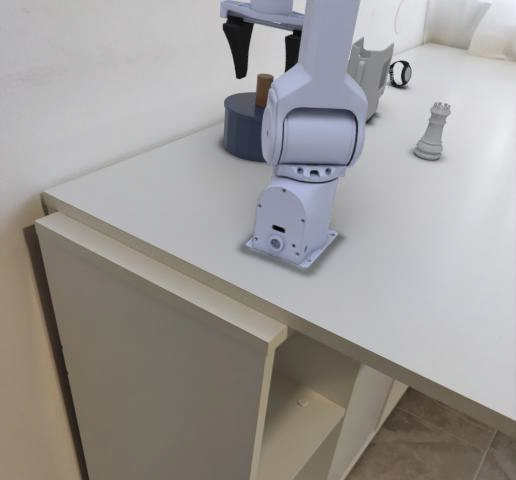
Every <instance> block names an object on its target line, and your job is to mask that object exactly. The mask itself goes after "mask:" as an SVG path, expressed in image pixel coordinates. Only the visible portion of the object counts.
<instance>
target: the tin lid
mask: <svg viewBox="0 0 516 480" xmlns="http://www.w3.org/2000/svg"><path fill="white" fill-rule="evenodd" d="M274 81H275V77H274V75H273V74H270V73H258V74H257V75H256V85H255V86H256V89H255V92H254V91H249V92H248V91H247V92H246V91H245V92H238V93H233V94H230V95H228V96H227V97H225V98H224V100H223V107H224V110H225V109H226V110H227V111H228V112H230V113H231V114H233V115H236V116H238V117H241V118H244V119H248V120H253V121H260V122H262V121H263V114H264V110H265V108H266V105H267V100H268V93H269V89H270V88H271V84H272V82H274Z"/></svg>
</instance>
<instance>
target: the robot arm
mask: <svg viewBox="0 0 516 480" xmlns="http://www.w3.org/2000/svg"><path fill="white" fill-rule="evenodd" d="M360 4H361V0H306V1H305V7H304V13H301V12H298V11H296V10H293V8H294V0H250V1H249V2H245V1H237V0H221V1H220V8H219V10H220V11H219V17H220V18H222V19H226V21H225V22H223V23H222V31H223V33H224V35H225V38H226V40H227V43H228V45H229V49H230V52H231V57H232V60H233V66H234V72H235V79H237V80H242V79H244V78H246V77H247V75H248V68H249V56H250V55H249V53H250V45H251V40H252V35H253V31H254V28H255V27H254V26H255V25H261V26H265V27H268V28H273V29H279V30H282V31H288V32H292V33H290V34H287V35H285V37H284V47H285V48H284V49H285V52H284V53H285V60H284V61H285V63H284V73H282V74H281V75H279V76H278V77H277V78H276V79H274V81H273V82H272V84H271V88H270V89H269V93H268V100H267V105H266V108H265V110H264V114H263V121H262V135H261V140H262V153H263V157H264V159H265V160H266V161H265V163H267V165H268V166H269V167H273V168H272V175H271V178H270V181H269V182H268V184H267V186H266V187H265V188H264V189H263V190H262V191H261V193H260V194H259V195H258V198H257V201H256V205H255V206H256V207H255V217H254V226H253V236H252V237H251V238H250V239H249V240H248V241H247V242H245V246H246V247H248V248H251V249H253V250H256V251H259V252H262V253H264V254H266V255H269V256H273V257H275V258H278V259H280V260H282V261H283V260H284V261H286V262H288V263H291V264H294V265H297V266H299V267H303V268H309V267H310V266H311V265H312V264H313V263H314V262H315V261H316V260H317V259H318V257H320V255H322V253H323V252H324V251H325V250H326V249H327V248H328V247H329V246H330V244H332V242H333V241H334V240H335V239H336V238H337V237H338V235H339V232H337V231H336V230H333V229H330V224H331V219H332V214H333V209H334V203H335V199H336V194H337V189H338V184H339V179H340V178H344V177H346V172H347V169H348V168H349V169H350V168H352V167H354V166H355V164H356V163H357V162H358V161H359V159H360V158H361V156H362V153H363V150H364V147H365V146H364V145H365V141H366V122H367V121H366V115H367V109H368V102H367V99H366V95H365V93H364V91H363V90H362V88H361V87H360V86H359V85H358V84H357V83H356V81H355V80H354V79H353V78H352V77H351V76H350V75H349V74H348V73H347V72H346V71H347V66H348V61H349V59H350V54H351V48H352V44H353V40H354V35H355V30H356V26H357V20H358V15H359V14H358V13H359V10H360Z"/></svg>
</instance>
